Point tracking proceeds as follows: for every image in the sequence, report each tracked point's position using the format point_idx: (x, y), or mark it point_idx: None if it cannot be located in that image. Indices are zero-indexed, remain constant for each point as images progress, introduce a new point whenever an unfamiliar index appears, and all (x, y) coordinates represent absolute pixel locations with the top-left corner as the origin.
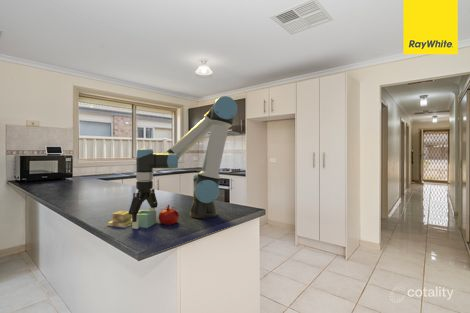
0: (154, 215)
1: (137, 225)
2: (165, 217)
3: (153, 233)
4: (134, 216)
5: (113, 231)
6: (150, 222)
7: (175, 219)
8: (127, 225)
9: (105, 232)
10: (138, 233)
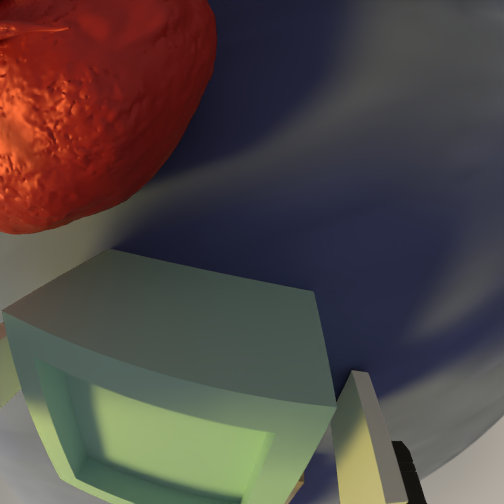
0: (87, 300)
1: (375, 396)
2: (199, 26)
3: (494, 156)
4: (422, 497)
5: None
6: (230, 296)
7: None
8: None
9: None
10: (482, 308)
